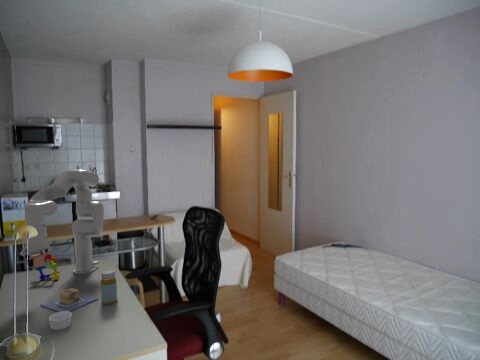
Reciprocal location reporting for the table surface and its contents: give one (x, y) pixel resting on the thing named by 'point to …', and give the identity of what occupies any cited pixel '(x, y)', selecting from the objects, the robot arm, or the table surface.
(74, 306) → the board
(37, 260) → the terracotta cube
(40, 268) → the educational toy
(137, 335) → the table surface
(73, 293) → the oak block
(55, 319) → the ramekin
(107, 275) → the bottle
